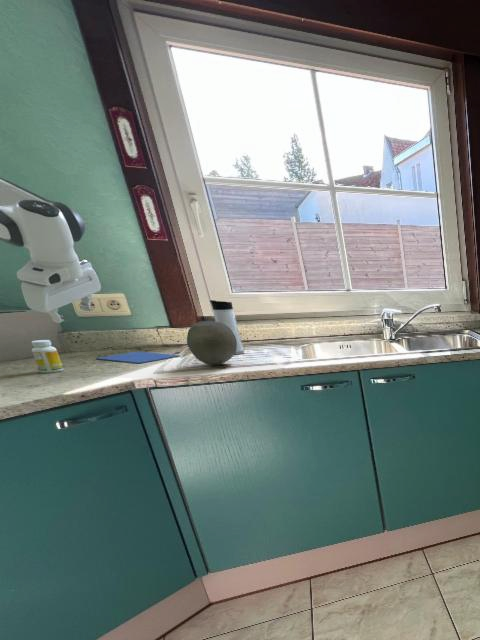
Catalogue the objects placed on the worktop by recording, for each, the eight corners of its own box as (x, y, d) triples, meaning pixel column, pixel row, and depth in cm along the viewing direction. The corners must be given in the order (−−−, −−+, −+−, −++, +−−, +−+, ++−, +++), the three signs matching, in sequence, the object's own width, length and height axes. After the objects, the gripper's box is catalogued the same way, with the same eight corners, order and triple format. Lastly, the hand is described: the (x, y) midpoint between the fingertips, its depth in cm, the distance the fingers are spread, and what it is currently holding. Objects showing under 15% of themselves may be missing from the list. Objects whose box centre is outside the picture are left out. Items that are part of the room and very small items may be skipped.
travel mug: (219, 354, 187) (205, 300, 180) (236, 351, 193) (223, 298, 185) (230, 355, 185) (216, 301, 178) (247, 353, 191) (235, 299, 183)
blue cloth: (96, 359, 173) (95, 358, 173) (139, 352, 186) (139, 351, 186) (139, 363, 169) (138, 362, 169) (180, 356, 182) (180, 355, 182)
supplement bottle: (38, 373, 153) (25, 342, 149) (42, 370, 157) (30, 340, 153) (62, 371, 156) (50, 341, 152) (65, 368, 160) (54, 339, 156)
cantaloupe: (182, 368, 165) (168, 322, 159) (217, 359, 178) (206, 317, 172) (220, 370, 164) (208, 324, 158) (252, 362, 177) (242, 319, 171)
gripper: (75, 254, 140) (88, 300, 147) (9, 275, 123) (28, 325, 131) (101, 260, 141) (113, 306, 149) (39, 282, 125) (56, 331, 132)
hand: (72, 315), depth 140 cm, fingers open, 8 cm apart
